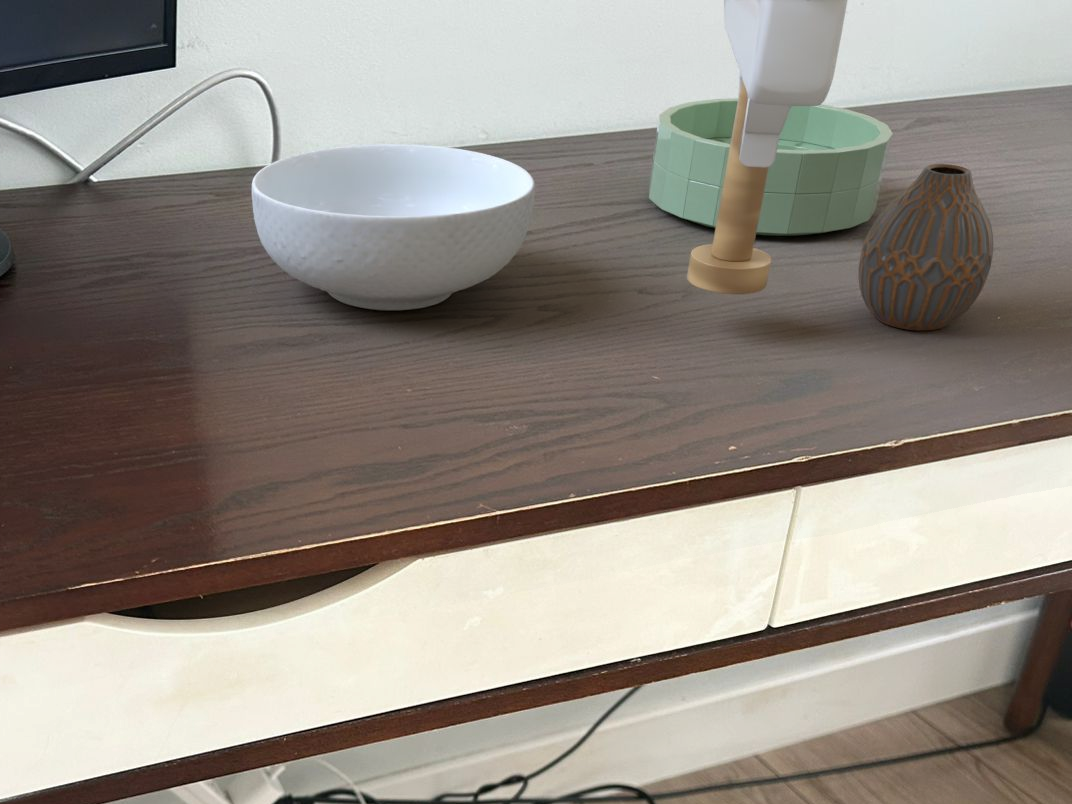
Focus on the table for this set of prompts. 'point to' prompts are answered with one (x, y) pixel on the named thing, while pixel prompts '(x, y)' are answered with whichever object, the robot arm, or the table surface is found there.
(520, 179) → the cereal bowl
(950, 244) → the vase
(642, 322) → the table surface
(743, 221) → the stirring stick
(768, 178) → the green round tub
